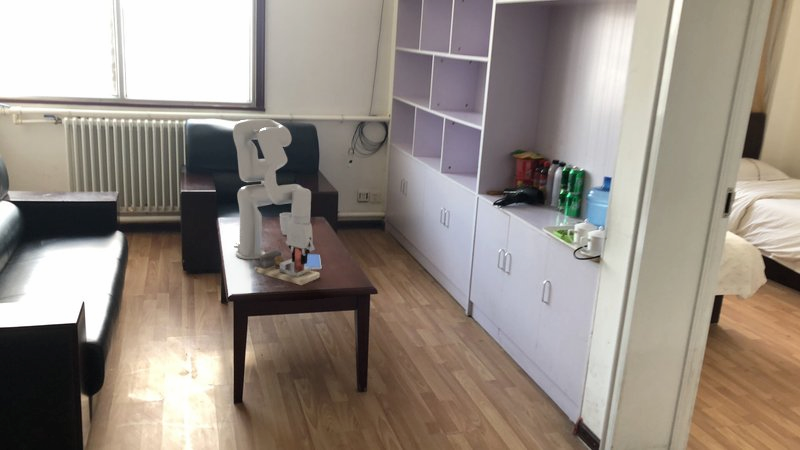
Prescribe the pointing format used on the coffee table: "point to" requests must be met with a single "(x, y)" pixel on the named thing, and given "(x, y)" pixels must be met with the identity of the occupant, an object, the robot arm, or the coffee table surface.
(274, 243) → the coffee table surface
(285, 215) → the cup
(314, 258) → the tablet computer
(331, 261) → the coffee table surface
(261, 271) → the base
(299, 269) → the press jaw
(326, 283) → the coffee table surface
